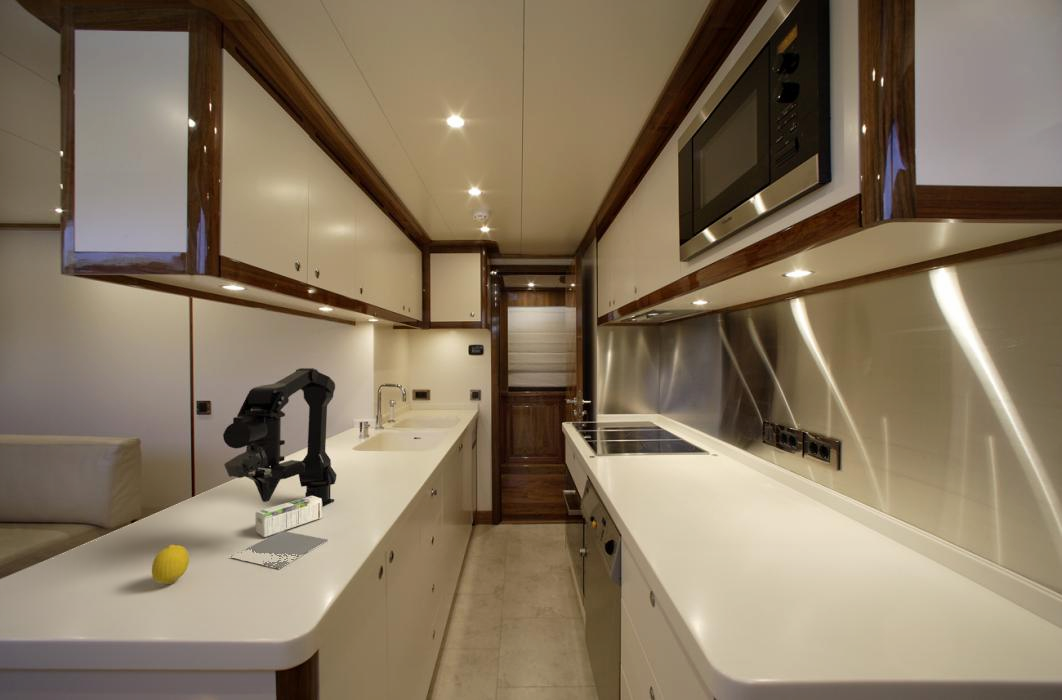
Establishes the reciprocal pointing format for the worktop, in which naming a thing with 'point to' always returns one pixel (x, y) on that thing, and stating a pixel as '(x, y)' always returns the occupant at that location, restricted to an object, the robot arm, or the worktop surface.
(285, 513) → the syrup box
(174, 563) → the lemon
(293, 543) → the mat
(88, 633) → the worktop surface
